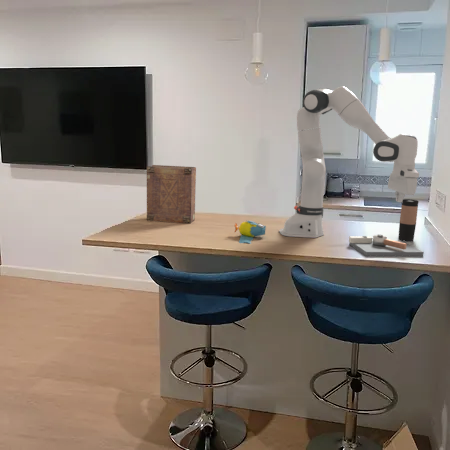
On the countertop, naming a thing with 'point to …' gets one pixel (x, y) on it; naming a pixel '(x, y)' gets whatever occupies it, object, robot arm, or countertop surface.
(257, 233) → the yellow and blue toy
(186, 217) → the book
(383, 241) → the multicoloured piece
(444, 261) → the countertop surface
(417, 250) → the stand
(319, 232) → the robot arm
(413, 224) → the travel mug
